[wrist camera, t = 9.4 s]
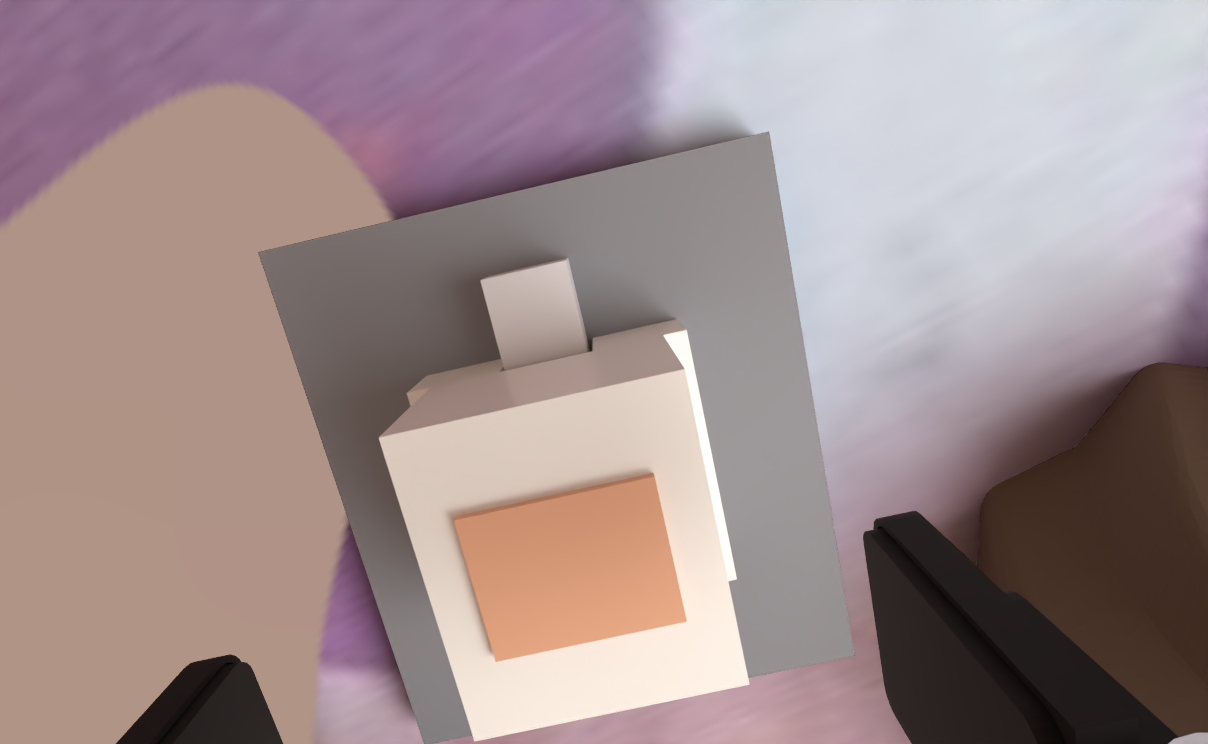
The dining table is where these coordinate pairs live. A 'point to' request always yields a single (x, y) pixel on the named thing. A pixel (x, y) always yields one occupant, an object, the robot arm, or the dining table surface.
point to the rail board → (625, 286)
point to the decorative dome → (1121, 542)
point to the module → (570, 531)
